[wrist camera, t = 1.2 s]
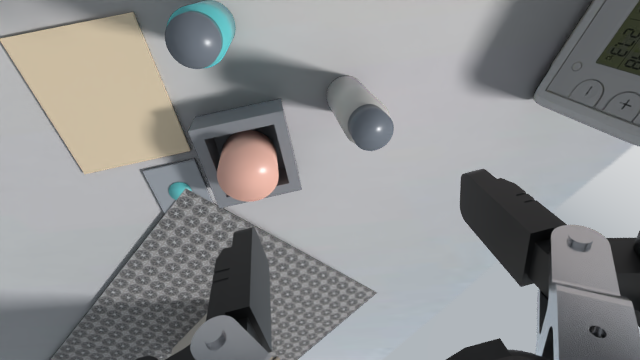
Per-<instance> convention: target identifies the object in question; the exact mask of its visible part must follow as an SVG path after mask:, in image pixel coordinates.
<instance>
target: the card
mask: <svg viewBox="0 0 640 360" xmlns="http://www.w3.org/2000/svg"><path fill="white" fill-rule="evenodd" d="M143 173H144V175H145V177H146V179H147V181H148V183H149V185H150V187H151V189H152V191H153V193H154V194H155V196H156V198H157V200H158V202H159V204H160V206H161V208H162V210H163V212H164V214H166V213H167V211H168V210H169V209H170V208H171V206H172V205H173V204H174V202H175V201H176V200H177V199H178V197H179V196H180V195H181V194H182V192H183V191H184V190H185V189H188V190H190V191H192V192H194V193H196V194H197V195H199V196H201V197H203V198H205V199H206V200H208V201H210V202H212V203H213V201H212V199H211V197H210V194H209V192H208V189H207V187H206V185H205V182H204V180H203V177H202V175H201V173H200V170H199V168H198V165H197V163H196V161H195V159H191V160H187V161H182V162H178V163H173V164H169V165H164V166H160V167H155V168H151V169H146V170H143Z"/></svg>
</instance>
